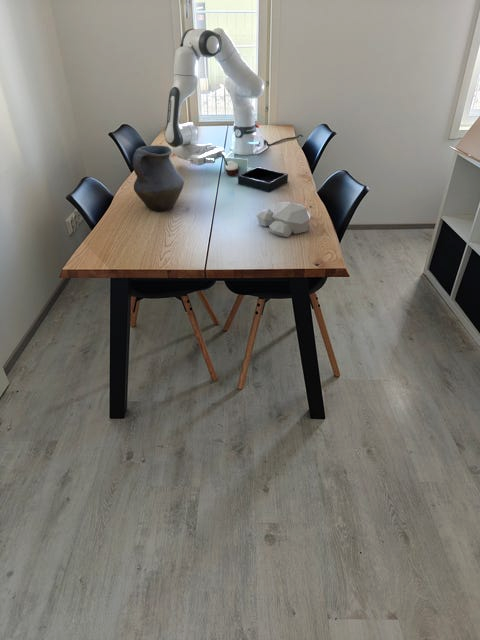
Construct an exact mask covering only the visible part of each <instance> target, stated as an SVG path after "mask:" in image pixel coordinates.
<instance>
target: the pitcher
mask: <svg viewBox="0 0 480 640" xmlns="http://www.w3.org/2000/svg"><path fill="white" fill-rule="evenodd" d="M172 153H173V150H172V149H171V147H169V146H168V145H143V146H140V147H138V148H137V149H135V152H134V153H133V154H132V155H133V156H132V168H133V172H134V173H135V176H136V178H135V181H133V191H134V192H135V194H136V195H137V197H138V198H139V199H140V200H141V201H142V202H143V204H144V205H145V207H146V208H147V209H149V210H151V211H155V212H165V211H169V210H170V209H173V208H174V206H175V205H176V203H177V201H178V200H179V198H180V195H181V193H182V191H183V188H184V185H185V181H184V178H183V177H182V175H181V174H180V172H178V171H177V169H176V168H175V166H174V164H173V162H172V160H171V158H170V155H171V154H172Z"/></svg>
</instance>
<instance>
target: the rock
mask: <svg viewBox="0 0 480 640" xmlns="http://www.w3.org/2000/svg"><path fill="white" fill-rule="evenodd" d="M256 217H257V221H258V224H259V226H262V227H269V230H270V233H272V234H274V235H275V236H279V237H284V238H287V237H291V236H292V234H294V235H297V234H301V233H306V232H308V231H309V226H310V220H311V213H310V212H309V211H308V209H307V207H306V206H304V205H303V204H301V203H295V202H289V201H283V200H281V201H280V202H279V203H278V205H277V206H276V207H275V209H274V211H273V210H272V209H270V208H267V209H264V210H262V211H261V212H259V213H258V214H256Z"/></svg>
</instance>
